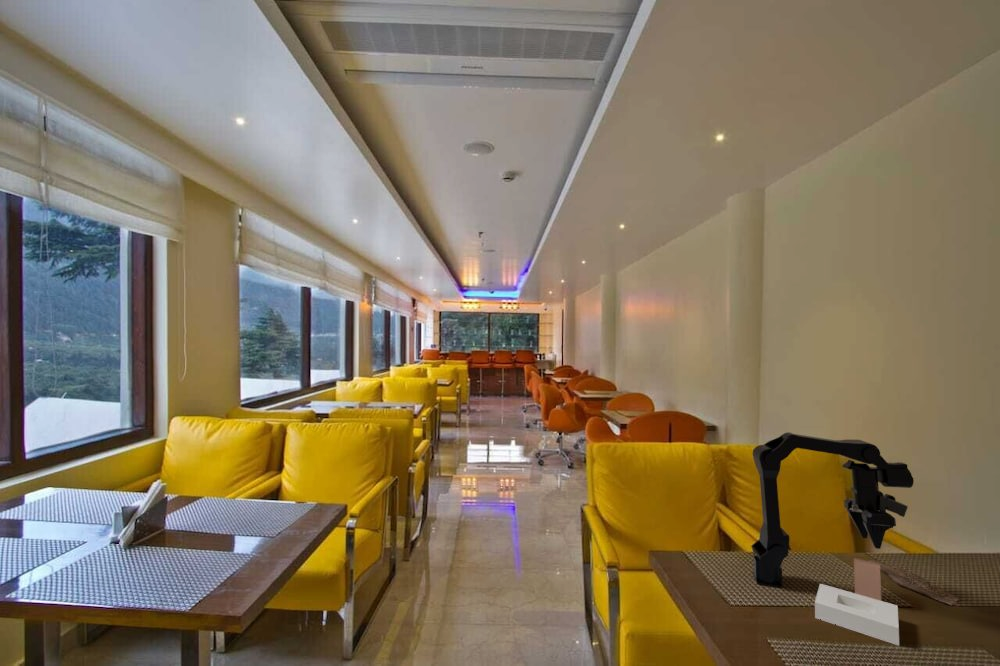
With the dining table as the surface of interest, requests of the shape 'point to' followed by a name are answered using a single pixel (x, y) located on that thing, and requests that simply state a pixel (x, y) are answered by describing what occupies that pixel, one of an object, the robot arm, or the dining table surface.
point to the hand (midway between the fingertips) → (871, 543)
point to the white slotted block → (858, 613)
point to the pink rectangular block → (867, 579)
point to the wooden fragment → (917, 583)
